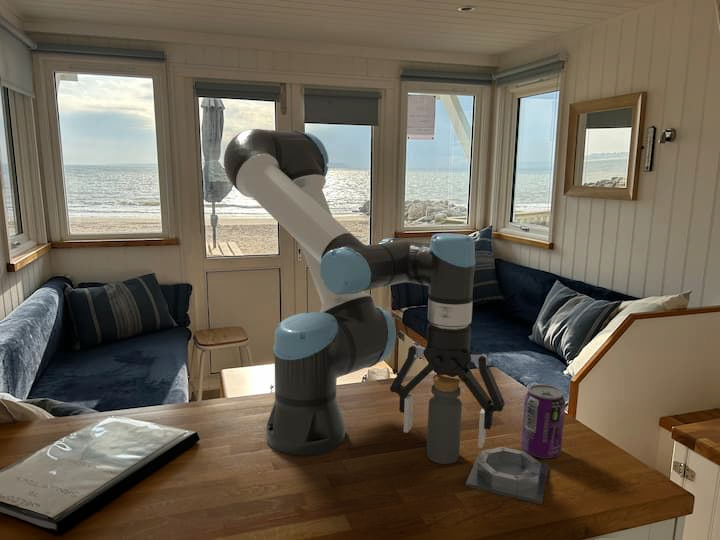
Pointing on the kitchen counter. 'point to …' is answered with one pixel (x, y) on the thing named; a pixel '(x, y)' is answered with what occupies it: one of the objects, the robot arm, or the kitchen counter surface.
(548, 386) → the beverage can
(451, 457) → the bottle
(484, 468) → the ring seat
